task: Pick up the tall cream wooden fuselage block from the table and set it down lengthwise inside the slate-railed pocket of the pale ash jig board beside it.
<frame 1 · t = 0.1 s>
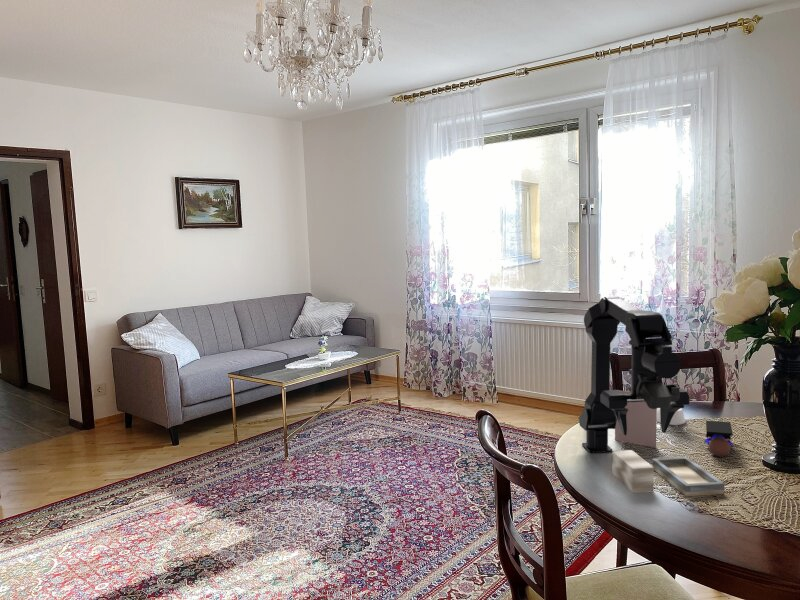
hand: (644, 433, 135), 14 cm above the table, tool pointing down, fingers open, 9 cm apart
inkwell: (673, 425, 181), on the table
jig board: (686, 480, 142), on the table
figurine character: (718, 449, 161), on the table
fuselage block: (632, 482, 143), on the table
greeting card: (634, 443, 168), on the table
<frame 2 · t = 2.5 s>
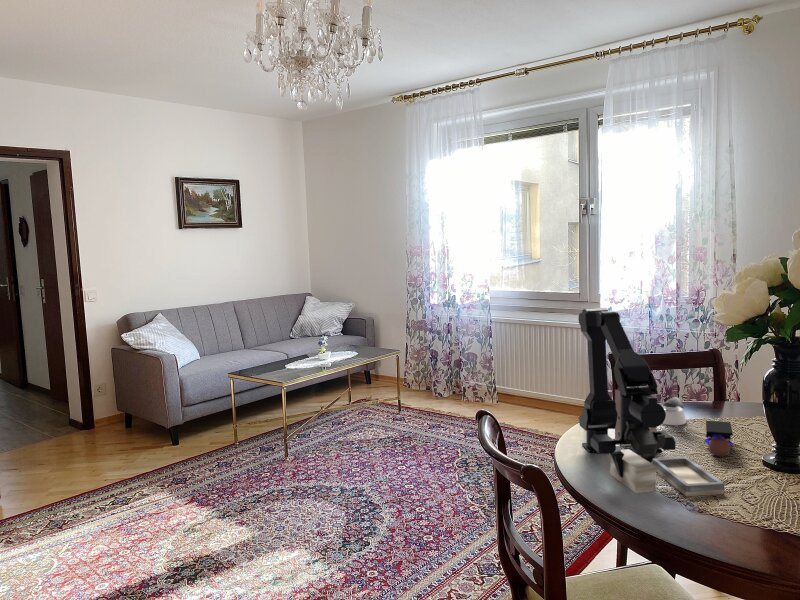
hand: (632, 476, 142), 2 cm above the table, tool pointing down, fingers closed on fuselage block, 5 cm apart
fuselage block: (632, 482, 143), on the table, touching gripper
everything else where it was.
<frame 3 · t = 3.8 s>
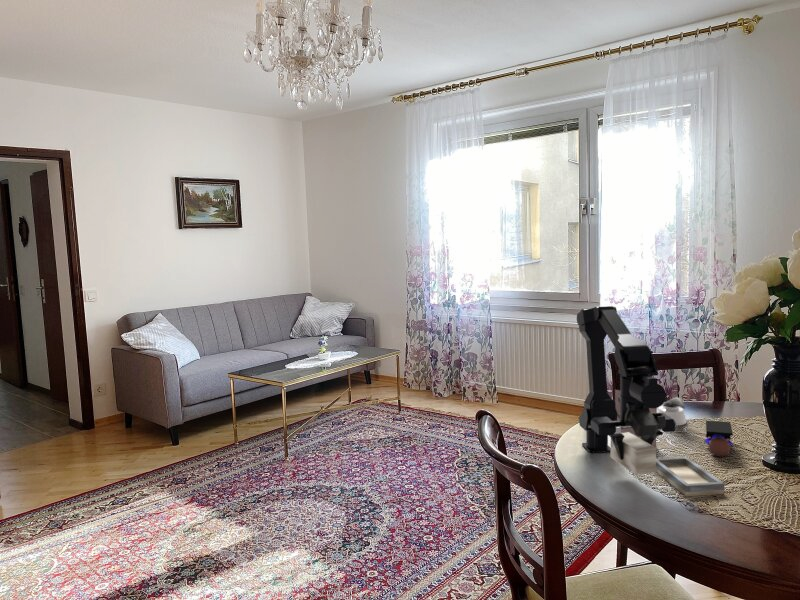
hand: (632, 458, 142), 6 cm above the table, tool pointing down, fingers closed on fuselage block, 5 cm apart
fuselage block: (632, 464, 142), point 4 cm above the table, touching gripper
everything else where it was.
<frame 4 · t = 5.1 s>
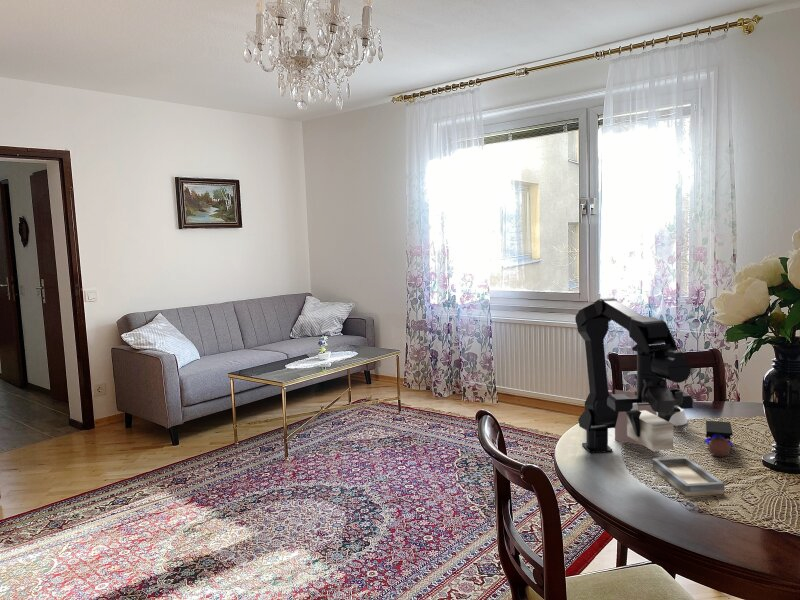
hand: (649, 435, 141), 12 cm above the table, tool pointing down, fingers closed on fuselage block, 5 cm apart
fuselage block: (649, 442, 141), point 10 cm above the table, touching gripper
everything else where it was.
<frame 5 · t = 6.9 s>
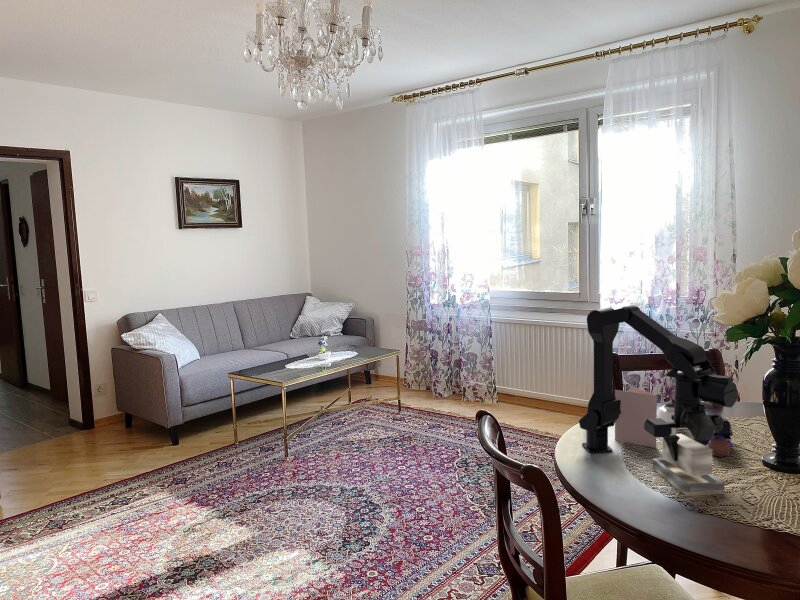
hand: (686, 460, 142), 5 cm above the table, tool pointing down, fingers closed on fuselage block, 5 cm apart
fuselage block: (686, 466, 142), point 4 cm above the table, touching gripper
when the fingers open (3 cm above the table, at t = 8.1 s): fuselage block stays where it is, resting on jig board.
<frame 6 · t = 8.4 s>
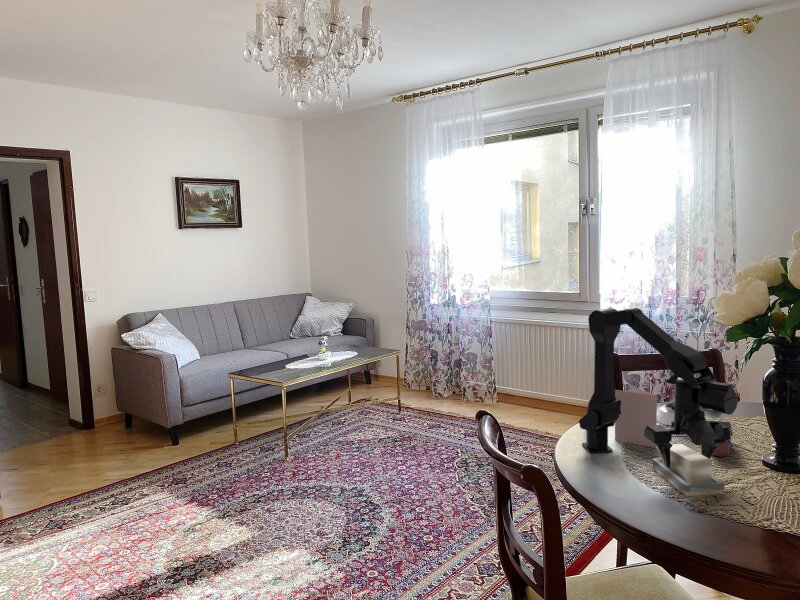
hand: (686, 466, 142), 3 cm above the table, tool pointing down, fingers open, 9 cm apart
fuselage block: (686, 476, 142), point 1 cm above the table, touching jig board
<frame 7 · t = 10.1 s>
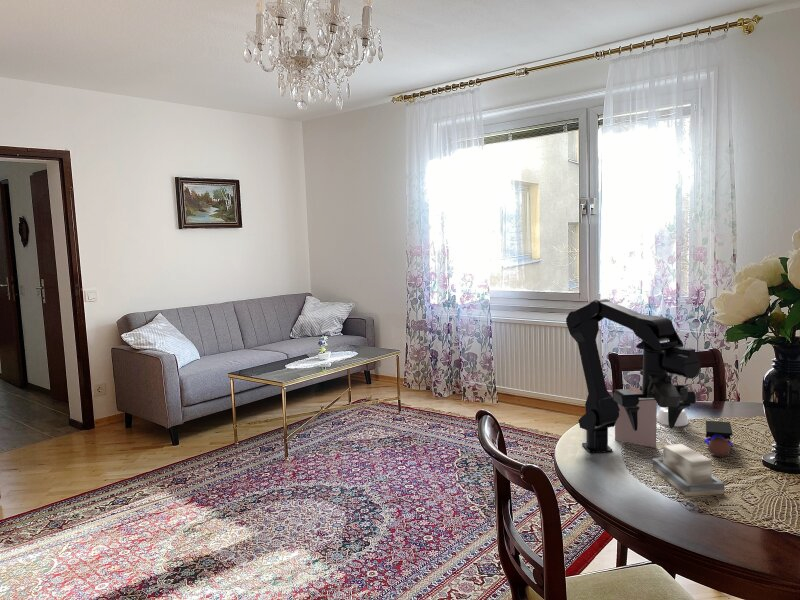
hand: (653, 429, 146), 11 cm above the table, tool pointing down, fingers open, 9 cm apart
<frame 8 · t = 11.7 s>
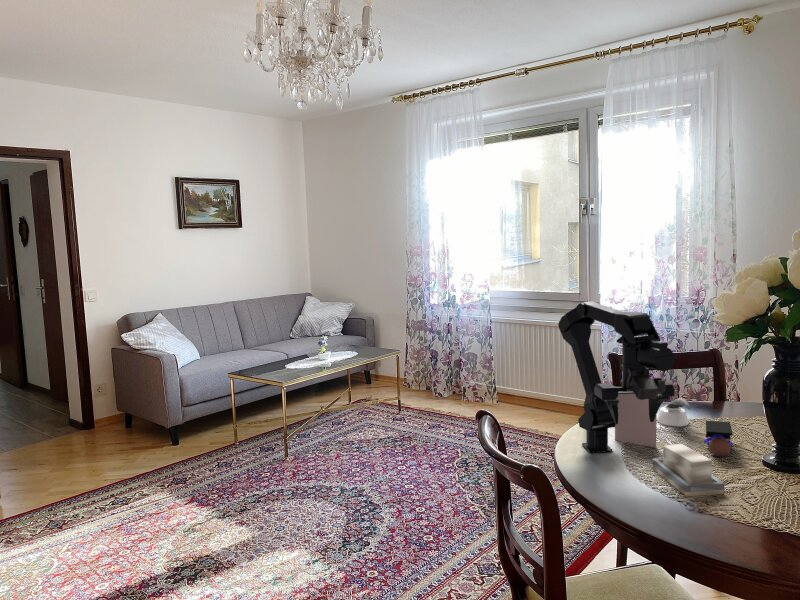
hand: (633, 422, 149), 12 cm above the table, tool pointing down, fingers open, 9 cm apart
at the end: fuselage block 0.0 cm off-centre on the jig board, point 1.0 cm above the jig board's base; the gripper is holding nothing; fuselage block tilted 0° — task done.
